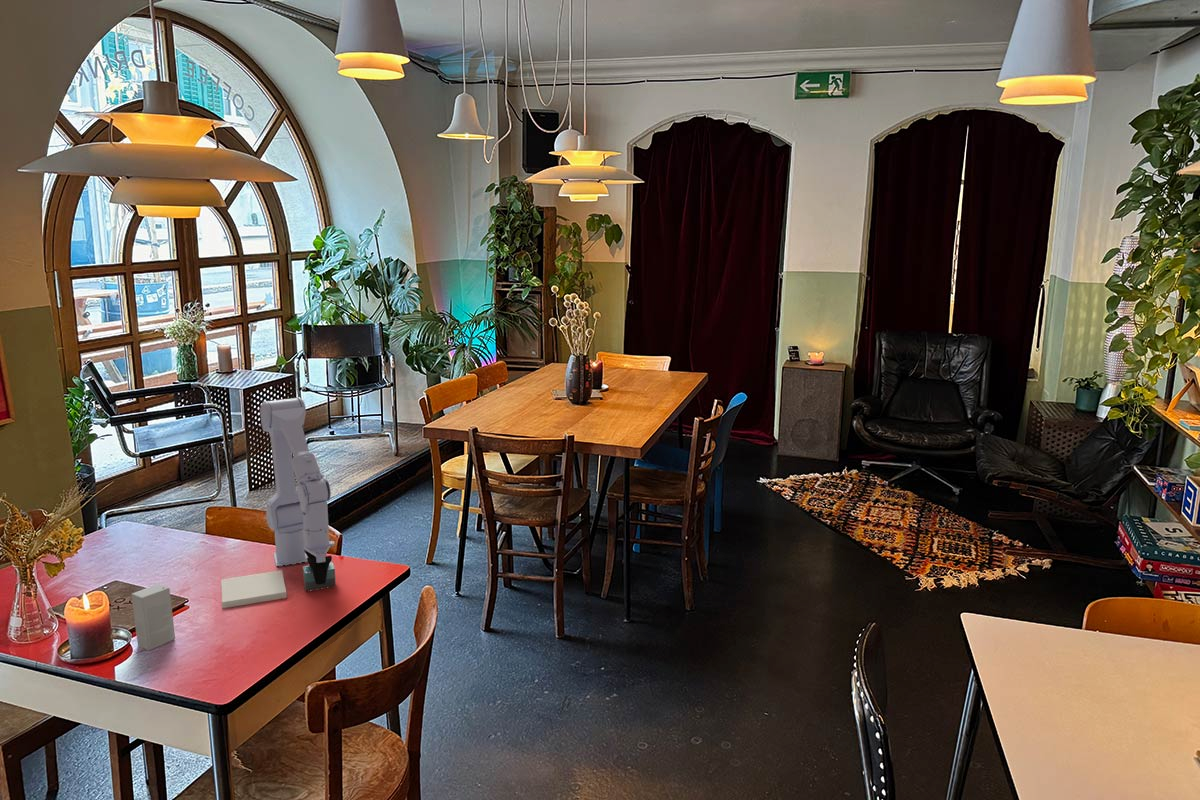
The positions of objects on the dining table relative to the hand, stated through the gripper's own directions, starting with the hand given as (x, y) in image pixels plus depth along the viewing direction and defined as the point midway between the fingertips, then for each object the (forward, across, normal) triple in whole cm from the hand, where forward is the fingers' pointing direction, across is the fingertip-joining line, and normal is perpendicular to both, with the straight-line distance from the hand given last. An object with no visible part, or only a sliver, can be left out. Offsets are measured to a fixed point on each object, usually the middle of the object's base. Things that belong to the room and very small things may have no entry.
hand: (319, 579), depth 202 cm
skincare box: (+2, -16, +35) cm, 39 cm away
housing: (+2, 0, 0) cm, 2 cm away
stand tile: (+2, +3, +15) cm, 15 cm away
